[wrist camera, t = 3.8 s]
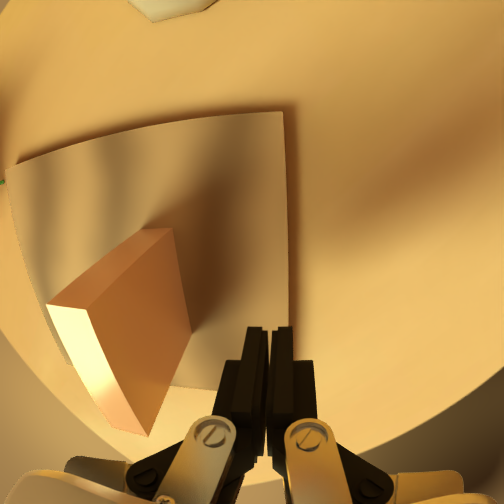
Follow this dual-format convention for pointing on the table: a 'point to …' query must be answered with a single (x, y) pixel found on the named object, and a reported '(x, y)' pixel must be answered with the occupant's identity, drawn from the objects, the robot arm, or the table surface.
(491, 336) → the table surface
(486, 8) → the table surface
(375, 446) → the table surface
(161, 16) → the flask
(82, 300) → the tile
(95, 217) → the board
